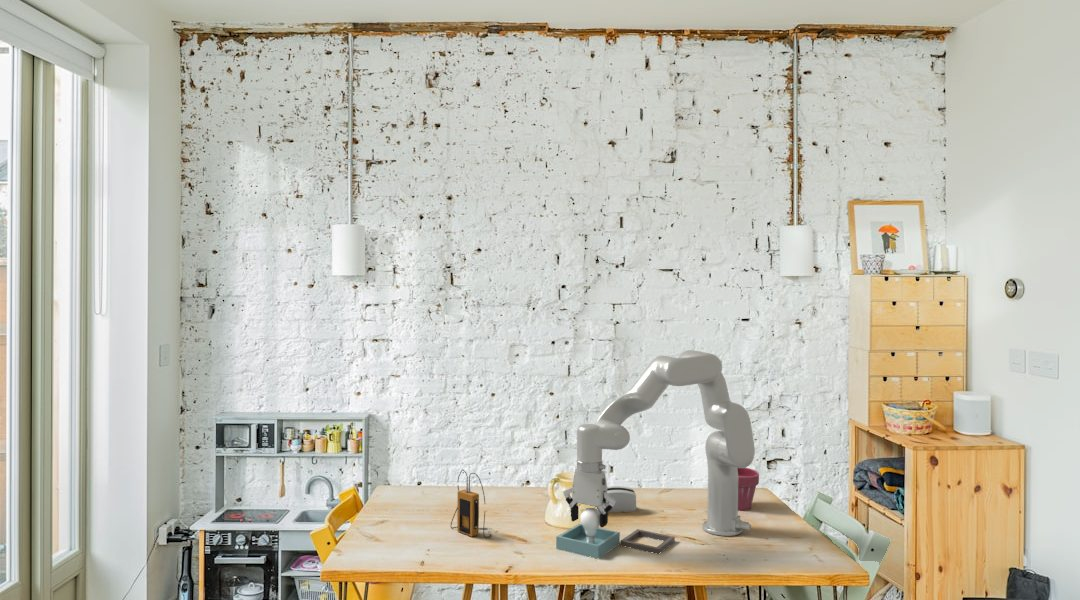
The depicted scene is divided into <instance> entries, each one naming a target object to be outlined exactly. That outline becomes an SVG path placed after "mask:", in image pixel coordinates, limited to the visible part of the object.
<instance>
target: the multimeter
mask: <svg viewBox="0 0 1080 600" xmlns="http://www.w3.org/2000/svg"><path fill="white" fill-rule="evenodd" d="M462 472H464V473H465V475H466V488H465V489H462V490H460V488H459V486H457V504H456V505H457V507H456V510H455V511H454V513H453V516H452V519H451V522H450V529H455V528H456V529H457V530H456V531H457V532H458V533H460V534H464V535H466V536H469V537H471V538H472V537H475V536H478V535H479V530H483V536H484V538H486V535H485V530H488V534H489V536H488V538H490V537H492V533H491V530H490V529H491V527H485V525H483V527H479V526H480V525H479V523H480V522H479V521H480V520H479V519H480V518H479V517H480V513H479V512H480V510H479V509H480V494H479V493H477V492H474V491H471V480H470V479H471V475H473V474H474V475H475V476H476V477H477V479H478V480H479V482H480V486H481V490H482V494H483V501H484V503H486V497H485V492H484V487H483V484H482V481H481V478H480V477H479V475H478V474H477V473H475V472H471V473H470V474H469V476H468V473H467V471H466V470H464V469H461V471H460V472H459V474H458V477H457V481H459V480H460V476H461V473H462ZM456 514H457V516H456V517H457V519H456V520H457V521H456V522H457V524H456V525H457V526H454V527H452V524H453V520H454V518H455V515H456ZM483 517H484V518H483V523H485V519H486V512H484V514H483Z"/></svg>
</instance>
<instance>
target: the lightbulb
mask: <svg viewBox="0 0 1080 600" xmlns="http://www.w3.org/2000/svg"><path fill="white" fill-rule="evenodd" d="M600 514H601V513H600V512H599V511H598V510H597V509H595V508H588V507H587V508H585V509H583V510H582V512H581V513H580V517H579V520H580V524H582V526H583V527H584V529H585V533H586V542H588V543H593V544H594V543H595V534H596V531H597V528H600Z"/></svg>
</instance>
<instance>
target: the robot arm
mask: <svg viewBox="0 0 1080 600" xmlns="http://www.w3.org/2000/svg"><path fill="white" fill-rule="evenodd" d="M722 371H723V363H722V361H721V359H720V358H719V357H718V356H717V355H715V354H713V353H709V352H703V351H699V350H694V349H692V350H685V351H682V352H681V353H680V354H679V355H678V357H673V356H670V355H669V356H667V355H659V356H657V357H655V358H653V360H651V362H650V363H649V365H648V366H647V367H646V369H645V370H643V372H642V374H640V376H639V377H638V379H637V380H636V381H635V382H634V384H633V385H632V386H631V388H630V389H629V390H628V391H626V392H624V394H622V395H620V396H619V397H618V398H616V399H615V400H614V401H613V402H611V403H610V404H609V405H607V407H606V408H605V410H603V412H602V413H601V414H600V415H599V417H598V418H597V420H596V421H595V423H594V424H593V423H584V424H580V425H578V427H577V430H576V469H574V474H573V478H572V487H570V488H568V489H566V490H564V491H563V492H562V493H563V496H564V498H565V501H566V502H567V504H568V507H569V508H570V517H571V522H575V521H578V519H579V505H586V506H588V505H590V506H595V507H598V508H599V509H600V511H601V512H602V513H600V525H599V528H604V527H605V526H607V524H608V521H609V519H608V517H609V513H610V512H609V511H610V510H611V509H612V508H613V506H614V504H615V502H616V499H614V498H613V497H612V496H610V495H609V494H608V493H607V487H608V482H607V478H606V473H605V471H604V470H606V468H607V465H606V464H604V463H603V450H612V451H618V450H622V449H624V448H626V447H627V446H628V445H629V443H630V440H631V436H630V435H631V434H630V432H629V430H628V429H627V428H626V427H624V426H623V425H622V424H623V423H624V422H625V421H626V420H627V419H628V418H630V417H631V416H633V415H636V414H638V413H641V412H643V411H647V410H649V409H651V408H653V406H655V404H656V402H657V401H658V400H659V398H660V397H661V396H662V395H663V393H664V392H665V390H666V389H667V388H668V386H673V387H685V386H693V385H697V386H698V388H699V392H700V396H701V402H702V409H703V414H704V419H705V422H706V424H707V425H708V426H709V427H711V428H713V429H715V430H716V431H712V432H711V433H710V434H709V435H708V437H706V441H705V444H704V445H705V446H704V447H705V456H706V462H707V463H706V464H707V509H706V510H707V511H706V512H707V515H706V516H707V519H706V521H704V522H702V525H701V526H702V527H701V528H702V530H704V531H705V532H707V533H709V534H711V535H715V536H716V535H717V536H722V537H725V536H726V537H730V536H731V537H733V536H738V535H740V534H742V533H743V530H746V531H751V527H752V524H750V522H749V521H745V520H744V521H743V520H742V519H741V515H739V513H738V512H739V510H738V470H737V468H749V466H750V465H752V463H753V461H754V458H755V454H756V453H755V451H756V447H755V442H754V441H755V439H754V434H753V429H752V428H753V427H752V422H751V417H750V414H749V412H748V411H747V409H746V408H745V407H744V406H743V405H741V404H739V403H736V402H732V401H731V399H730V395H729V391H728V385H727V382H726V378H725V376H724V374H723V373H722ZM607 500H608V501H609V505H608V506H607V505H606V503H607ZM578 504H579V505H578Z"/></svg>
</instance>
